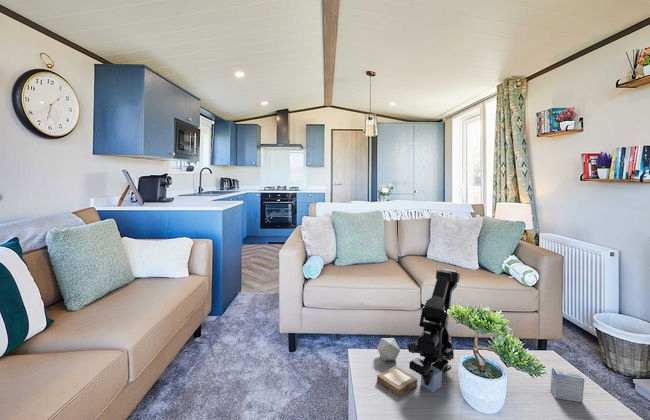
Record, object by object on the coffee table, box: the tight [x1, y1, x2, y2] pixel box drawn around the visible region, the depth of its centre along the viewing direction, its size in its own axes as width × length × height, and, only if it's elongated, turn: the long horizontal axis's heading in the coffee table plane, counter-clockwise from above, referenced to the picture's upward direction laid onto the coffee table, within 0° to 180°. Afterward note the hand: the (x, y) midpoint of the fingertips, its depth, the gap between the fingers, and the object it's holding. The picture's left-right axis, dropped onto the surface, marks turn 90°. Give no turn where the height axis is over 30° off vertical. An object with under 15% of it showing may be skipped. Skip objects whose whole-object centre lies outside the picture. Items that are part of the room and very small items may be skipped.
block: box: [420, 366, 443, 393], centre depth 112 cm, size 5×5×6 cm
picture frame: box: [376, 365, 418, 398], centre depth 113 cm, size 10×10×3 cm
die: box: [376, 337, 401, 362], centre depth 129 cm, size 8×9×10 cm
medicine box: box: [550, 367, 585, 404], centre depth 107 cm, size 8×4×9 cm, turn 73°
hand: (431, 382), depth 112 cm, fingers open, 5 cm apart
